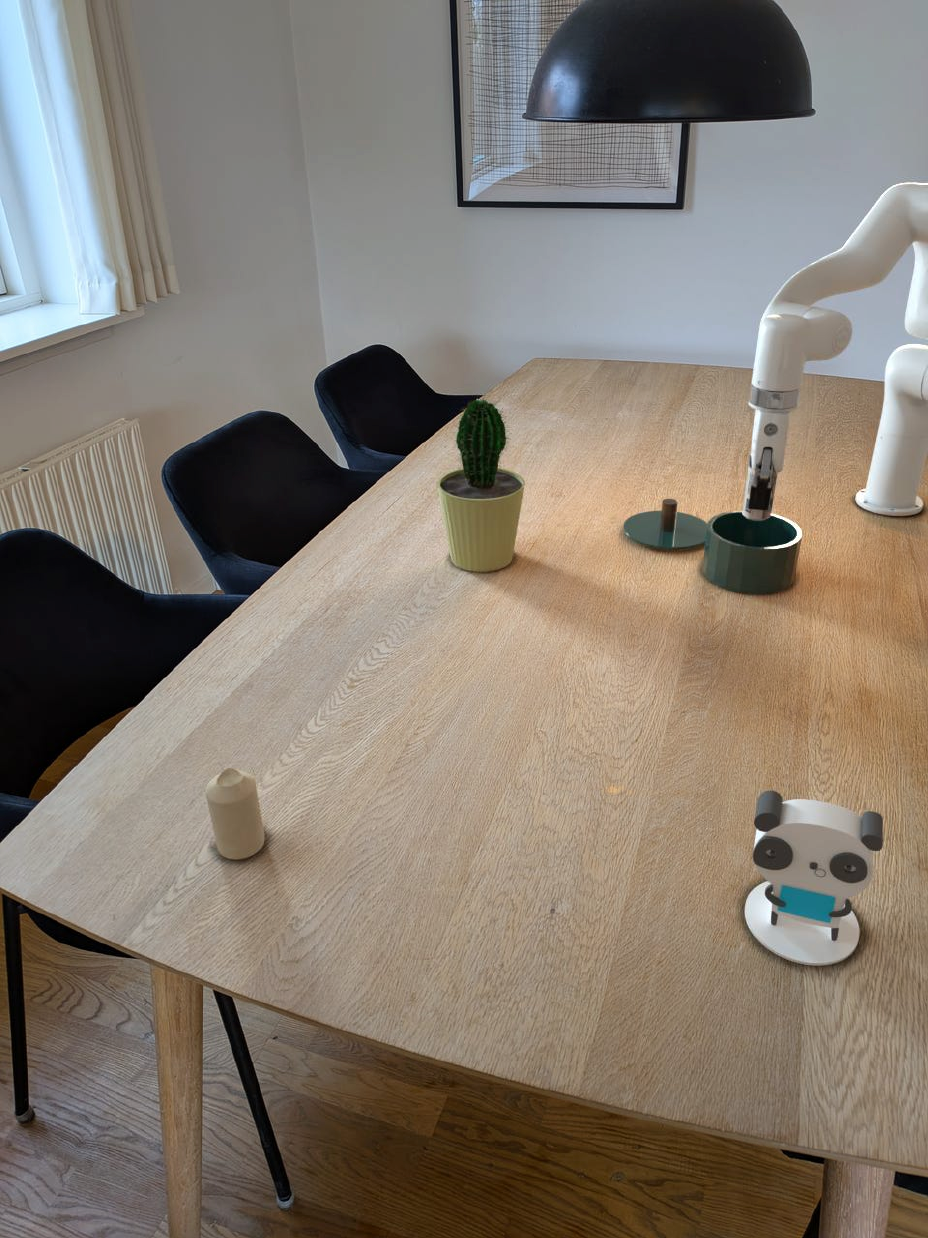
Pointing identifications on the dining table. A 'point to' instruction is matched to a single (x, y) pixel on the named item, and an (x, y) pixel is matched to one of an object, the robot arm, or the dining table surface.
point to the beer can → (749, 513)
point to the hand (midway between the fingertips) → (758, 501)
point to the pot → (751, 553)
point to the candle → (235, 814)
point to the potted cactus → (481, 494)
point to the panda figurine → (810, 877)
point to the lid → (666, 528)
